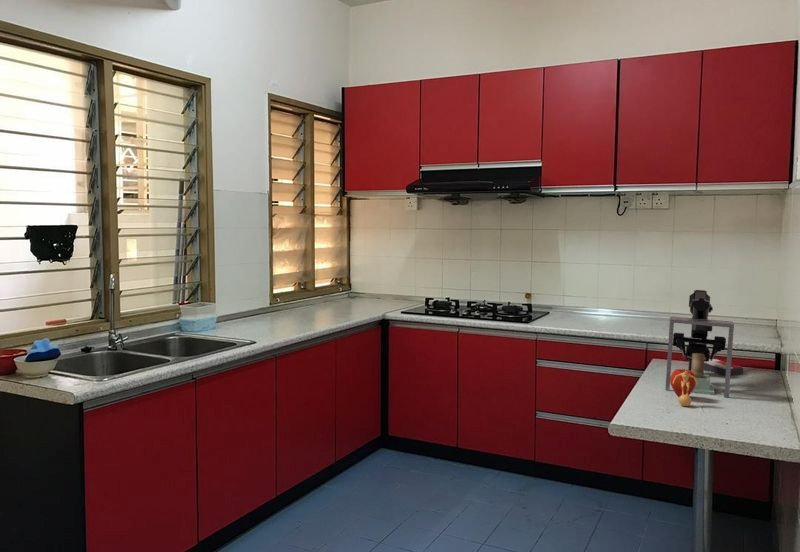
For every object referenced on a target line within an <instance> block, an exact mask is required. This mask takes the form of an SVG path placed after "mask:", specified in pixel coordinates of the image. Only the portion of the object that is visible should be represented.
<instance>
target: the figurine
mask: <svg viewBox="0 0 800 552" xmlns="http://www.w3.org/2000/svg"><path fill="white" fill-rule="evenodd" d="M678 376H682V377H683V381H681V386H682V395H681V396H680V397H678V403H679V404H680V405H681V406H683V407H687V406H690V405H691V404H692V398H691V397H690V395H689V396H688V390H689V387H690V386H689V383H690V382H689V381H688V378H689V377H692V378H694V379H695V381H696V383H697V386H698V382H697V380H696V378H695V377H694V376H692V375H690V374H688V372H687V371H685V372H683V373H681V374H679V375H676V376H675V378H674V380H673V383H672V384H674V381H675V379H676V378H677V377H678ZM687 381H688V382H687ZM685 384H686V386H687V388H688V389H687V392H686V395H684V391H683V390H684V388H683V387H684V386H685Z"/></svg>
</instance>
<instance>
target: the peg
mask: <svg viewBox="0 0 800 552" xmlns="http://www.w3.org/2000/svg"><path fill="white" fill-rule="evenodd" d="M705 358H706V357H705V355H704V354H700V353H693V354H692V365H691V371H692V372H693V373H694V375H695V378H702V379H703V376H704V374H705V373H704V372H705V370H704V361H705Z"/></svg>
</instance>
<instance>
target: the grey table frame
mask: <svg viewBox="0 0 800 552" xmlns="http://www.w3.org/2000/svg"><path fill="white" fill-rule="evenodd" d="M675 324H683V325H692V324H695V325H707V326H712V327H719V328H720V327H722V328H728V338H727V349H726V350H727V351H726V352H727V353H726V362H727V364H726V376H725V380H724V395H723V397H724V398H725V399H726V398H727V399H730V397H729V396H730V385H731V375H730V372H731V364H732V358H733V355H732V354H733V344H734V341H733V340H734V329H735V328H734V327H735V324H734V322H733V321H731V320H719V319H718V320H717V319H695V318H692V317H682V316H681V317H680V316H670V318H669V329H668V342H667V343H668V346H667V360H666V376H665V377H666V378H665V391H668V390H669V391H670V388H671V387H670V386H671V384H670V377H671V375H672V371H671V370H672V360H673V359H672V357H673V355H672V354H673V334H674V327H675V326H674V325H675Z"/></svg>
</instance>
